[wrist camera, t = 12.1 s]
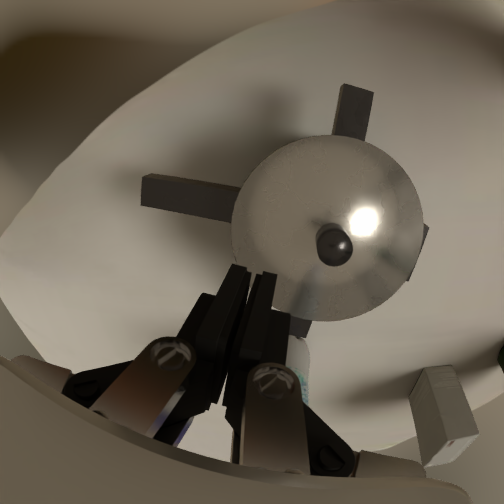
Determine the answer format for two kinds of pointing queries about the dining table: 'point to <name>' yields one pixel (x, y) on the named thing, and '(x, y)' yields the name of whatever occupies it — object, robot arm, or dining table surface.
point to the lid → (328, 226)
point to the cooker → (224, 197)
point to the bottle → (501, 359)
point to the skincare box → (441, 416)
